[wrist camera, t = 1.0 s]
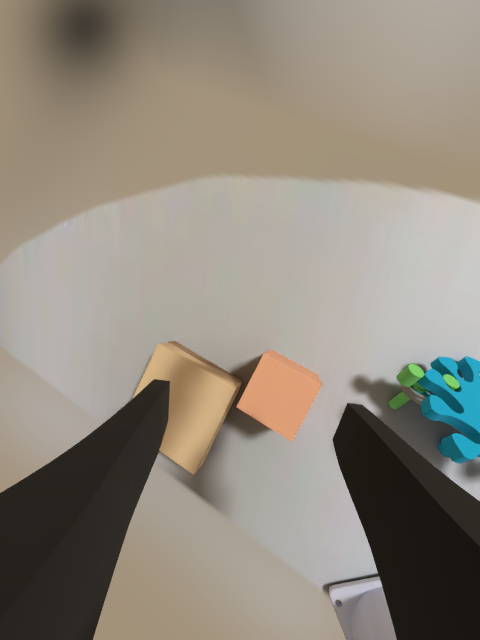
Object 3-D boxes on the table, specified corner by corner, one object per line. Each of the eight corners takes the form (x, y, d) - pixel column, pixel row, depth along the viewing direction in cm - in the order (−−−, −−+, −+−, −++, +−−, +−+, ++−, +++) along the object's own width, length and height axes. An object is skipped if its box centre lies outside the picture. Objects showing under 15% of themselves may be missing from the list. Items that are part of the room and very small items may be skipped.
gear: (610, 419, 15) (676, 602, 9) (519, 448, 20) (525, 588, 14) (430, 321, 20) (396, 406, 14) (386, 362, 24) (346, 441, 18)
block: (317, 374, 21) (322, 384, 17) (293, 418, 22) (292, 441, 17) (271, 349, 23) (264, 352, 18) (249, 392, 23) (236, 407, 18)
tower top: (241, 383, 22) (236, 388, 20) (203, 463, 22) (194, 475, 20) (169, 343, 24) (158, 343, 22) (135, 416, 24) (120, 423, 22)
